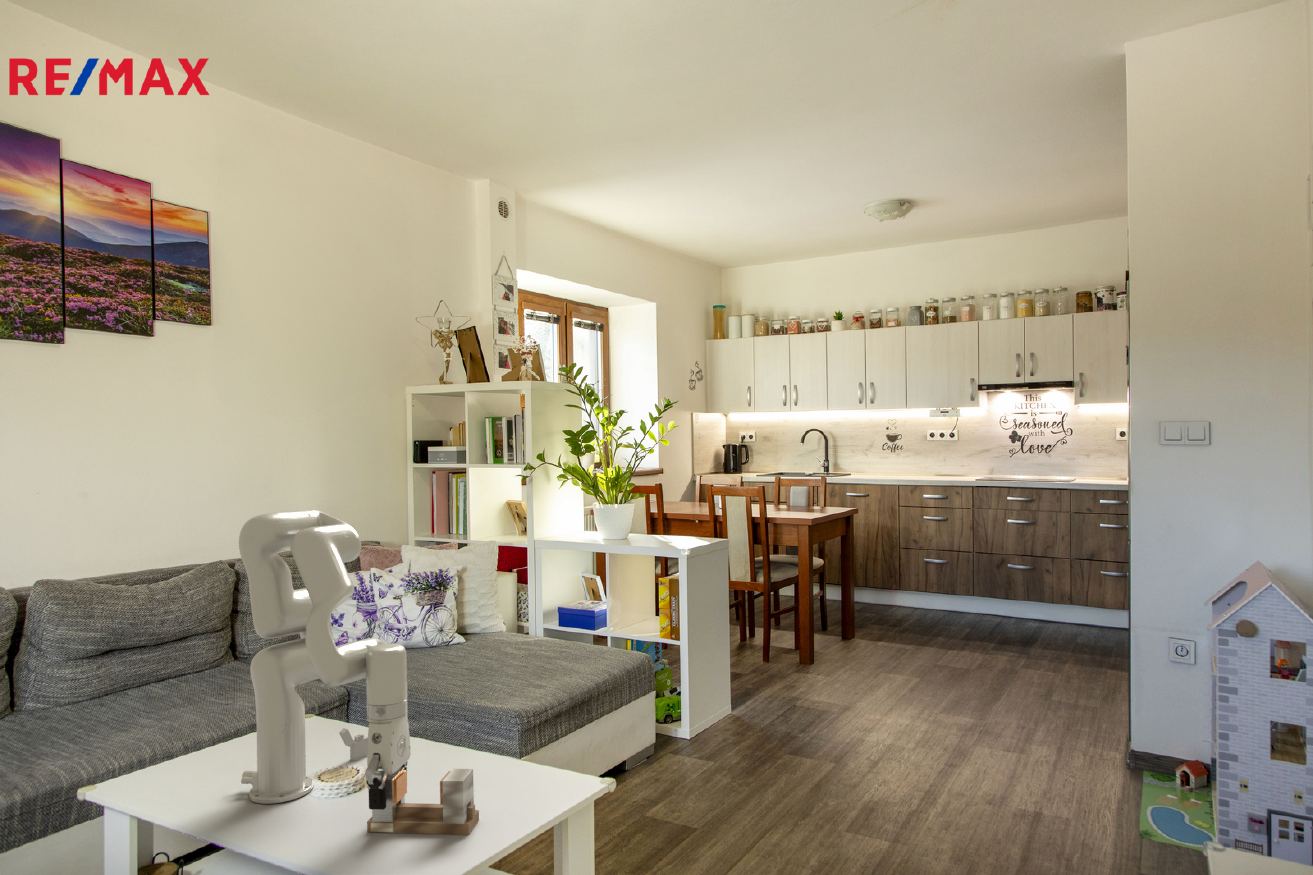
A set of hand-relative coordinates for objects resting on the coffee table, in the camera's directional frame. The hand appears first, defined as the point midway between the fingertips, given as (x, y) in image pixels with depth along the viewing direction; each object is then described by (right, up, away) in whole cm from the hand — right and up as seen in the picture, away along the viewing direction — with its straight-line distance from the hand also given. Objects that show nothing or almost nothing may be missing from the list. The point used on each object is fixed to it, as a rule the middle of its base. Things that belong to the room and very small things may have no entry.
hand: (388, 797), depth 160 cm
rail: (+7, -5, -1) cm, 9 cm away
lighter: (-20, -6, +35) cm, 41 cm away
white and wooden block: (0, -3, 0) cm, 3 cm away
